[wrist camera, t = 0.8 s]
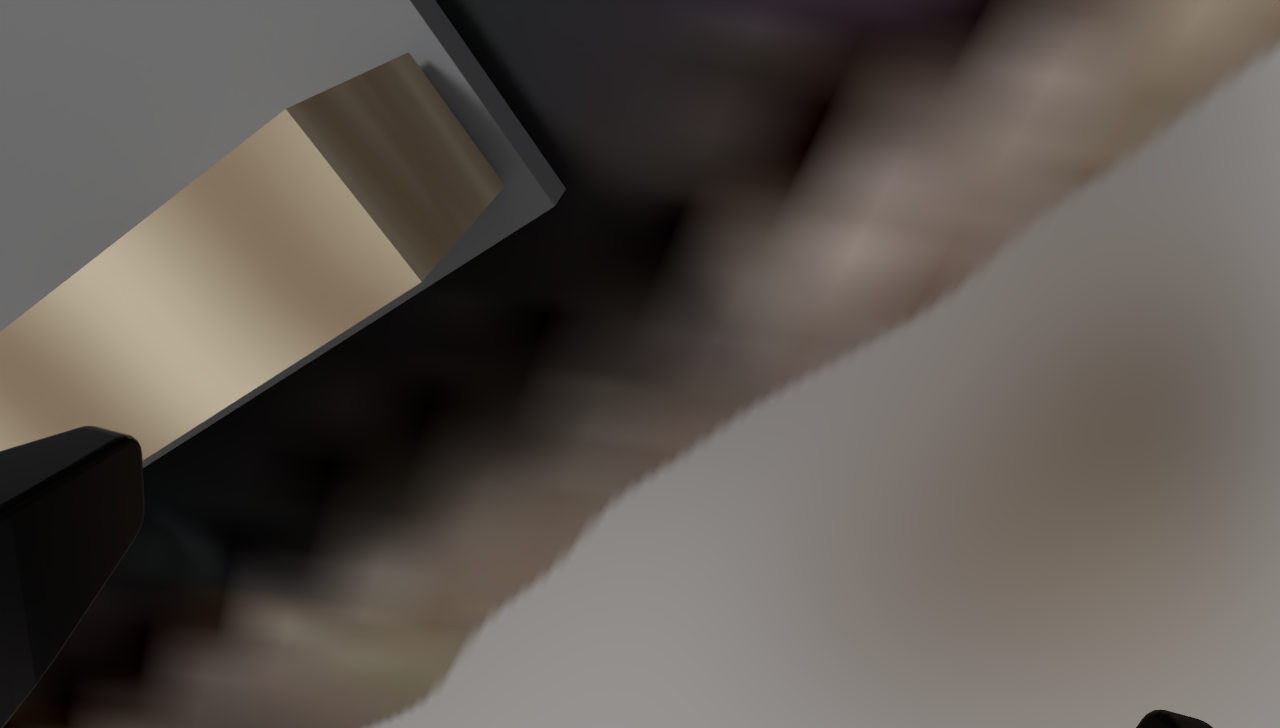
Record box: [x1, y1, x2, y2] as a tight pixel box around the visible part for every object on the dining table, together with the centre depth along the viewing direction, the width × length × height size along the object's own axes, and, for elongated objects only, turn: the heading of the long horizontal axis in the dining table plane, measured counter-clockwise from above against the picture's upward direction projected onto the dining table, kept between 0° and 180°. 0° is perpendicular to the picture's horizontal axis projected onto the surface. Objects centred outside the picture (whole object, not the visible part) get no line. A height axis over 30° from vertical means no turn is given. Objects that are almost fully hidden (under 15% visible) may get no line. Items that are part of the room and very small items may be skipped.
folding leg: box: [0, 52, 505, 461], centre depth 18 cm, size 15×3×5 cm, turn 124°
